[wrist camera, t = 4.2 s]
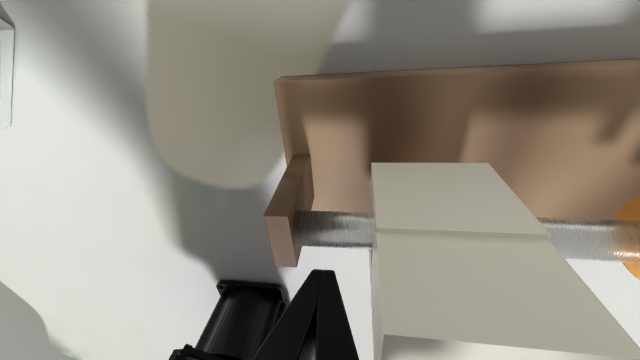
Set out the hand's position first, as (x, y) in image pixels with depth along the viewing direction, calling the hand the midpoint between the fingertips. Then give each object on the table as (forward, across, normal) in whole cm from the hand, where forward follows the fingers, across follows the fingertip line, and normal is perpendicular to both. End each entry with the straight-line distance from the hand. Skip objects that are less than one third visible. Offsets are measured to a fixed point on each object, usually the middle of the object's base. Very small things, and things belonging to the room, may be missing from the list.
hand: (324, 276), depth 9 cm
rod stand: (+8, -8, 0) cm, 12 cm away
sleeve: (+5, -4, 0) cm, 6 cm away
